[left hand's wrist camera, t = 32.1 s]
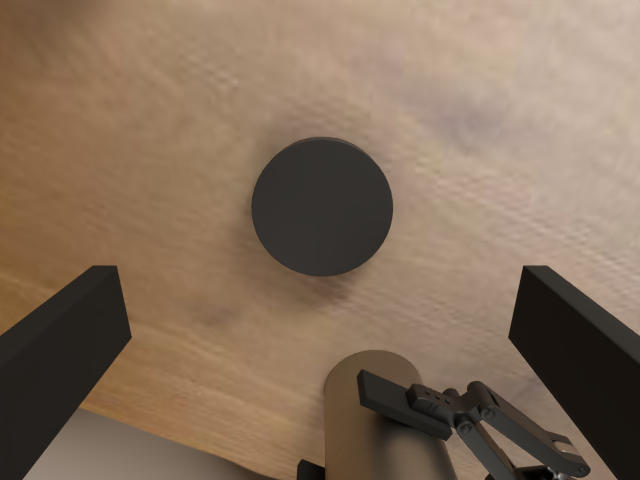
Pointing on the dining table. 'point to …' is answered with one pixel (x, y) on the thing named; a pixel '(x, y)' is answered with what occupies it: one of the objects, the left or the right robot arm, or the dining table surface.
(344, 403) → the jar
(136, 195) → the dining table surface
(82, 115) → the dining table surface
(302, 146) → the lid
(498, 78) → the dining table surface
